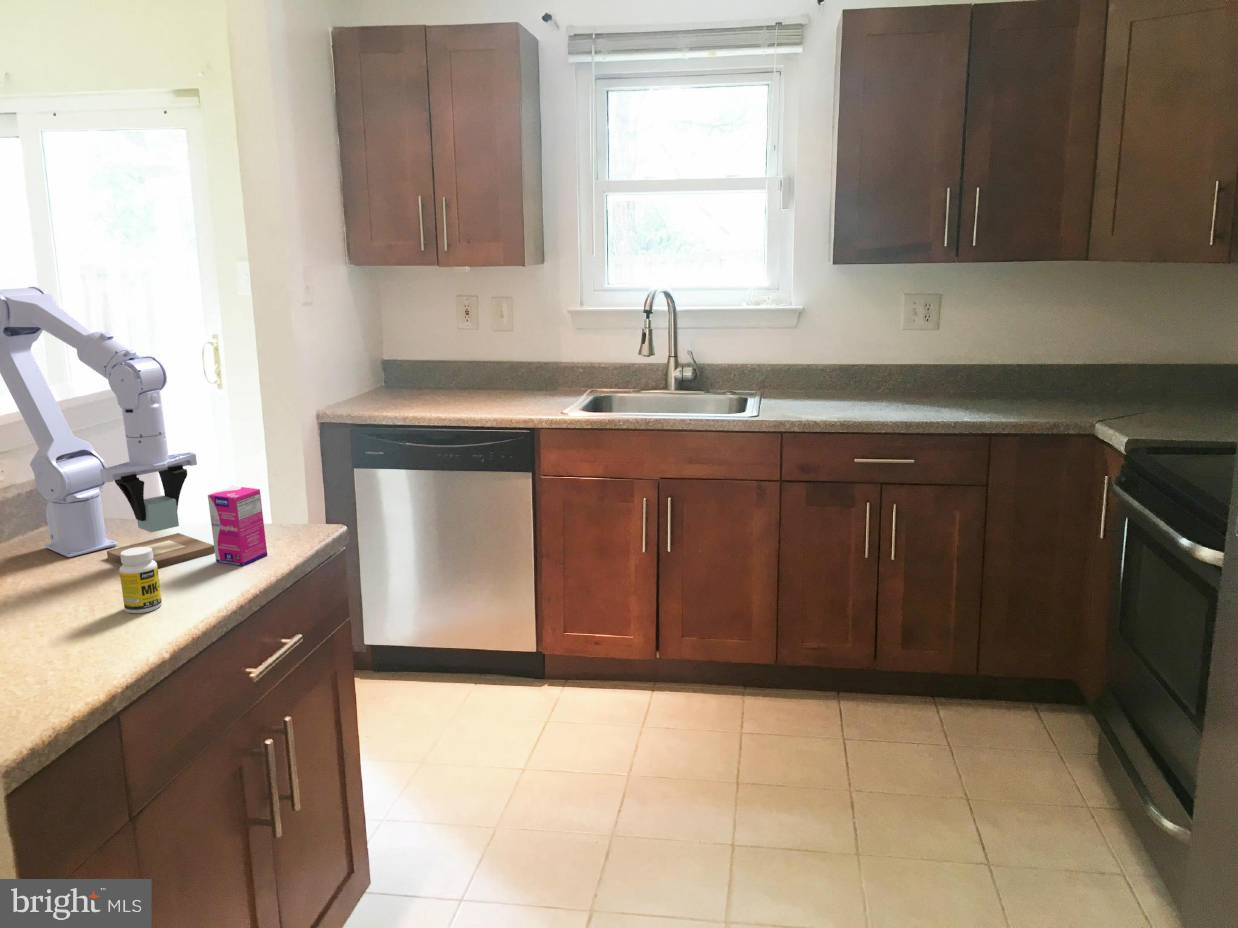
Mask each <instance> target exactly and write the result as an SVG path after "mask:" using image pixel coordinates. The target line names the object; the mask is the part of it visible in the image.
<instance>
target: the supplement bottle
mask: <svg viewBox="0 0 1238 928" xmlns="http://www.w3.org/2000/svg"><path fill="white" fill-rule="evenodd" d="M120 556H121V563H122V564H121V563H120V564H121V566H120V567H119V569H118V570H119V577H120V585H121V591H122V593H121V594H122V600H123V607H124V610H125V612H126V613H129V614H144V613H150V612H152V611H155V610H157V609H158V608H160V607H161V606H162V604H163V600H162V593H161V584H160V578H159V568H158V567H157V563H156V562H155V561H153V560H152V559H153V551H152V548H150V547H135V548H130V549H127V550H124V551H122V552H121V553H120Z"/></svg>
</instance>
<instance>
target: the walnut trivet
mask: <svg viewBox="0 0 1238 928" xmlns="http://www.w3.org/2000/svg"><path fill="white" fill-rule="evenodd" d="M135 547H150V548H152V551H153V559H152V560H153V561H155V562H156V563H157V567H158V569H160V568H165V567H168V566H172V565H175V564H178V563H182V562H186V561H189V560H194V559H197V558H200V557H203V556H204V557H205V556H208V555H211V554H215V550H214V544H211V543H209V542H206V541H203V540H200V539H197V538H194V537H191V536H188V535H185V534H182V533H180V532H177V533H173V534H168V535H166V536H165V535H164V536H161V537H157V538H153V539H148V540H144V541H141V542H136V543H132V544H129V545H124V546H122V547H118V548H113V549H109V550H106V554H107V559H109V560H111V561H114V562H116V563H119V564H121V565H123V564H122V563H121V556H120V553H121V552H122V551H124V550H127V549H130V548H135Z"/></svg>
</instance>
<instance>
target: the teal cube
mask: <svg viewBox="0 0 1238 928" xmlns="http://www.w3.org/2000/svg"><path fill="white" fill-rule="evenodd" d="M144 505H145V511H146V520H145V521H140V520H137V519H136V520H137V527H138V529H141V530H143V531H146V532H149V533H155V532H159V531H163V530H167V529H168V530H169V529H173V528H177V527H179V526H180V524H179V515H178V509H177V505H176V499H173V498H169V497H166V496H165V495H158V496H152V497H147V498H144Z"/></svg>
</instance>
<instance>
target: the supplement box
mask: <svg viewBox="0 0 1238 928" xmlns="http://www.w3.org/2000/svg"><path fill="white" fill-rule="evenodd" d="M207 500H208V510H209V515H210V525H211V531H212V539H213V540H212V541H213V545H214V550H215V553H214V554H215V562H216V563H224V564H231V565H236V566H240V567H243V566H246V565H248V564H251V563H253V562H255V561H259V560H260V559H262V558H265V557H267V556H268V548H267V540H266V539H267V538H266V532H265V523H264V516H263V515H264V514H263V506H262V505H263V504H262V497H261V489H260V488H253V487H245V486H236V485H235V486H234V485H232V486H229V487H226V488H224V489H221V490H218V491H215V492H212V493H209V494H207Z"/></svg>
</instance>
